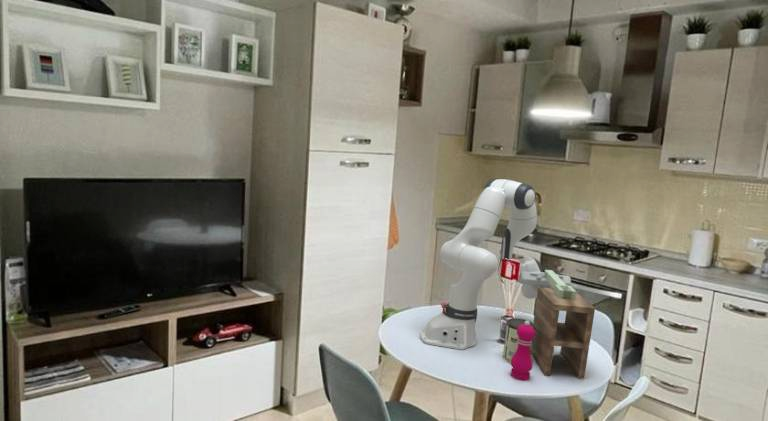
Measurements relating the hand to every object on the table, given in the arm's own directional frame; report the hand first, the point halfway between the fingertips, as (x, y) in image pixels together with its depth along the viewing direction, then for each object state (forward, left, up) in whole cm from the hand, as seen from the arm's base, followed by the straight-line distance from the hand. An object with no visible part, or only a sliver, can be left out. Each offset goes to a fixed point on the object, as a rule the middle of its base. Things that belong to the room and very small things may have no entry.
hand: (550, 274), depth 204 cm
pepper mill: (-16, -31, -29) cm, 45 cm away
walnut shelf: (0, -19, -29) cm, 35 cm away
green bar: (0, -9, -2) cm, 9 cm away
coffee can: (-14, -17, -29) cm, 37 cm away
